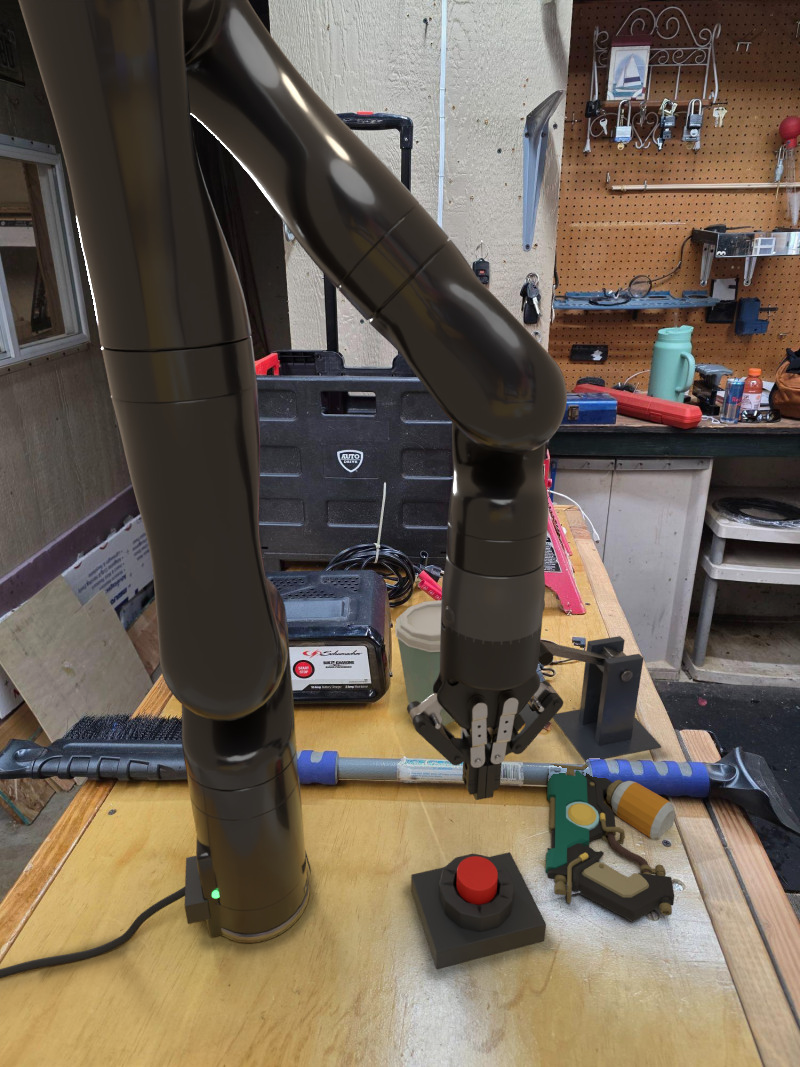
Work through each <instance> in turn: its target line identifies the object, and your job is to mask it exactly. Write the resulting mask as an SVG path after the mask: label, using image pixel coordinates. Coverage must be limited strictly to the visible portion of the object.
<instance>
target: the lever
mask: <svg viewBox="0 0 800 1067" xmlns="http://www.w3.org/2000/svg"><path fill="white" fill-rule="evenodd" d="M622 656H628V655H627V654H626V653H625V652H624V651H623V652H622V651H619V650H615V649H610V648H606V647H603V649H602V651H601V653H600V654H599V653H594V652H589V651H587V650H584V649H580V648H576V647H570V646H566V645H561V644H557V643H552V642H547V641H542V640H540V650H539V660H538V664H540V665H541V666H548V665H550V664H552V662H553V660H554V657H558V658H564V659H568V660H572V661H577V662H581V663H585V662H587V663H592V664H596V665H597V666H598V667H599V669H600V670H601V671H602V672H603V673H604V665H605V659H610V658H616V657H622Z"/></svg>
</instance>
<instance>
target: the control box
mask: <svg viewBox="0 0 800 1067" xmlns="http://www.w3.org/2000/svg"><path fill="white" fill-rule="evenodd" d="M473 856H478V857H483V858H486V859H488V860H489V861H490V862H492V863H493V864H494V866H495V867H496V869H497V872H498V880H497V892H496V895H495V897H494V898H493V899H492V900H491V901H489V902H488V903H485V904H472V903H469V902H467V901H465V900H464V899H463V898H462V897H461V896H460V895H459V893H458V891H457V868H458V866H459V864H460V863H461V862H462V861H463V860H464V859H466V858H468V857H473ZM410 892H411V895H412V898H413V901H414V905H415V908H416V910H417V914H418V917H419V920H420V924H421V927H422V929H423V933H424V936H425V938H426V942H427V945H428V948H429V951H430V955H431V957H432V960H433V963H434V967H435V969H436V970H440V969H444V968H448V967H451V966H454V965H459V964H463V963H466V962H470V961H474V960H478V959H481V958H485V957H489V956H493V955H496V954H500V953H504V952H509V951H512V950H516V949H520V948H523V947H527V946H531V945H535V944H538V943H542V942H545V940H546V939H545V938H546V929H547V922H546V921H545V919H544V916H543V915H542V913H541V911H540V909H539V907H538V905H537V904H536V901H535V899H534V897H533V895H532V893H531V891H530V889H529V887H528V885H527V883H526V881H525V879H524V877H523V875H522V873H521V871H520V870H519V868H518V865H517V864H516V861H515V859H514V857H513V856H512V853H511V852H510V851H509V852H505V853H504V852H503V853H499V854H495V855H491V856H488V855H483V854H479V853H478V854H477V853H468V854H465V855H461V856H456V857H454V858H453V859H452V860H451V861H450V862H448V864H446V865H445V866H444V867H443V866H442V867H437V868H434V869H430V870H426V871H421V872H417V873H413V874H411V875H410Z"/></svg>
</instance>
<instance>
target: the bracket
mask: <svg viewBox="0 0 800 1067" xmlns="http://www.w3.org/2000/svg"><path fill="white" fill-rule="evenodd" d="M625 642H626V640H625V639H624V638H623V637H622V636H621V635H618V636H611V637H605V638H599V639H593V640H588V641H587V644H586V651H589V652H594V653H599V654H600V653H601V651H602V649H603V647H606V648H610V649H615V650H619V651H622V652H623V653H624V648H625ZM643 666H644V656H642V655H641V654H640V653H635V654H628V655H627V656H622V657H616V658H610V659H605V665H604V673H603V672H602V671H601V670H600V669H599V667H598V666H597V665H596V664H592V663H587V662H584V671H583V680H582V688H581V697H580V705H579V709H574V710H568V711H563V712H557V713H556V714H555V715H554V717H553V718H552V719H553V721H554V722H555V723H556V725H557V726H558V727H559V729H560V730H561V732H562V733H563V734H564V736H565V737H566V738H567V739H568V741H569V742H570V744H571V745H572V746H573V748H574V749H575V750H576V752H577V753H578V754H579V756H580V757H581V759H582V760H583V761H584V764H586V760H587V759H589V758H600V759H602V760H607V759H612V758H617V757H622V756H627V755H632V754H637V753H641V752H642V753H643V752H647V751H651V750H656V749H661V748H662V745H661V744H660V743H659V742H658V741H657V739H656V738H655V737H654V736H653V735H652V734H651V733H650V732H649V731H648V730H647V729H646V727H645V726H643V724H642V723H641V722H640V721H639V720H638V719H637V717H636V711H637V704H638V697H639V692H640V691H639V690H640V684H641V679H642V678H641V677H642V670H643Z"/></svg>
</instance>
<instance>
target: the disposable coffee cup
mask: <svg viewBox="0 0 800 1067" xmlns="http://www.w3.org/2000/svg"><path fill="white" fill-rule="evenodd" d="M441 602H442V599H440V600H438V599H437V600H428V601H422V602H420V603H417V604H414V605H411V606H408V608H406V609H405V610H404V611H403V612H402V613H401V614H400V615H399V616H398V617H397V618H396V619H395V625H394V631H395V637H396V638H397V642H398V648H399V649H398V650H399V654H400V661H401V667H402V673H403V679H404V685H405V692H406V697H407V703H408V705H409V704H410V703H411V702H413V701H418V702H420V703H422V702H423V701H425V700H426V699H427V698H428V697H430V696H431V695H432V694H433V685H434V682H435V680H436V679H437V677H438V675H439V672H440V635H441ZM440 714H441V716H442V724H443V725H444V726H445V727H446V726H447V725H449V724H451V723H454V722H455V721H454V719H453V718H452V717H451V716H450V715H449V714H448V713H447V712H446V711H445V710H444V709H443V708H442V709H441V711H440Z"/></svg>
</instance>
